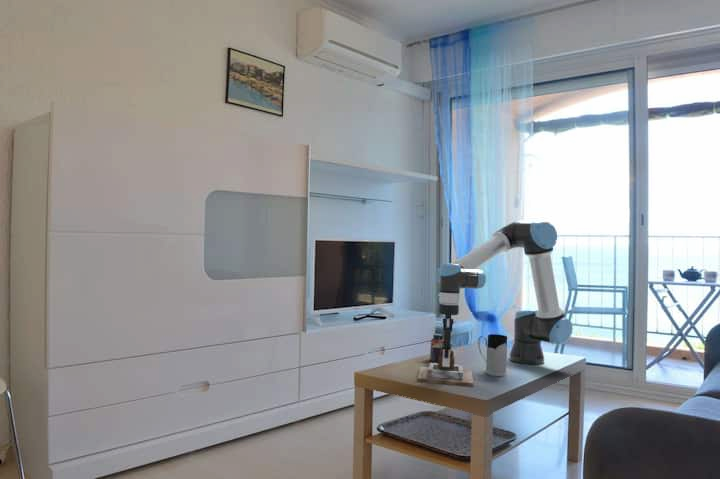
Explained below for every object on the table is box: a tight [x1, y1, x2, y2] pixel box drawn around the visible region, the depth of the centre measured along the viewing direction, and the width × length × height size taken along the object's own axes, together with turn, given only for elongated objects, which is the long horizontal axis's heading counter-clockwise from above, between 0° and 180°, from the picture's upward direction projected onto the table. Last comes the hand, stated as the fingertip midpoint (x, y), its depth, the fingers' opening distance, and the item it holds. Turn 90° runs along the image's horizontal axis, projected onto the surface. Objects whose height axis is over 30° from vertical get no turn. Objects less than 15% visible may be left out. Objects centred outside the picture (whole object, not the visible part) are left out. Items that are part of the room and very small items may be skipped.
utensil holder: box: [438, 338, 456, 371], centre depth 204 cm, size 6×6×12 cm
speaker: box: [432, 339, 452, 364], centre depth 225 cm, size 8×6×10 cm
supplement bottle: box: [429, 333, 444, 361], centre depth 236 cm, size 6×6×11 cm
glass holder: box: [477, 333, 508, 377], centre depth 218 cm, size 9×14×15 cm, turn 36°
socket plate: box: [417, 362, 474, 387], centre depth 204 cm, size 20×20×4 cm
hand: (445, 364), depth 204 cm, fingers closed on utensil holder, 6 cm apart
